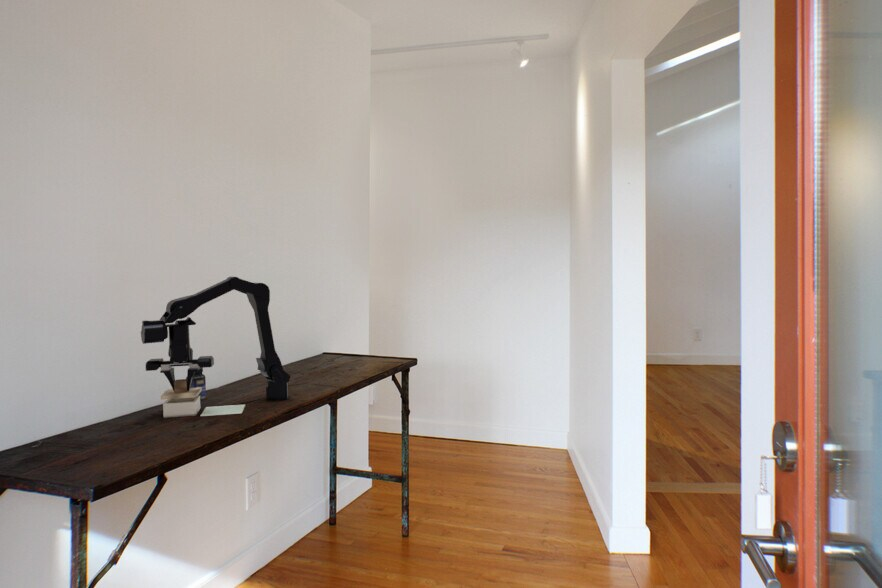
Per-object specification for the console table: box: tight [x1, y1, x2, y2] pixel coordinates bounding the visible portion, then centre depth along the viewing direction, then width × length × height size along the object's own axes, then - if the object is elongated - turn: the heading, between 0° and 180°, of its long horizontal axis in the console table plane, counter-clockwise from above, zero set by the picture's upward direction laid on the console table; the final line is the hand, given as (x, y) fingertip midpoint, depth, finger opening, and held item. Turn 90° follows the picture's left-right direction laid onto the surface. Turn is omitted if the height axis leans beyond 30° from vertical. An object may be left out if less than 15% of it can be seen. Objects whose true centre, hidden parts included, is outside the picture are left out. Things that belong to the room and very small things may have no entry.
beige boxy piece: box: [162, 396, 201, 418], centre depth 189 cm, size 9×9×4 cm
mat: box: [200, 404, 246, 417], centre depth 191 cm, size 12×12×1 cm
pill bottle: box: [185, 367, 207, 402], centre depth 207 cm, size 6×6×11 cm
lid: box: [160, 378, 202, 401], centre depth 188 cm, size 10×10×4 cm
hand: (181, 391), depth 188 cm, fingers closed on lid, 3 cm apart
